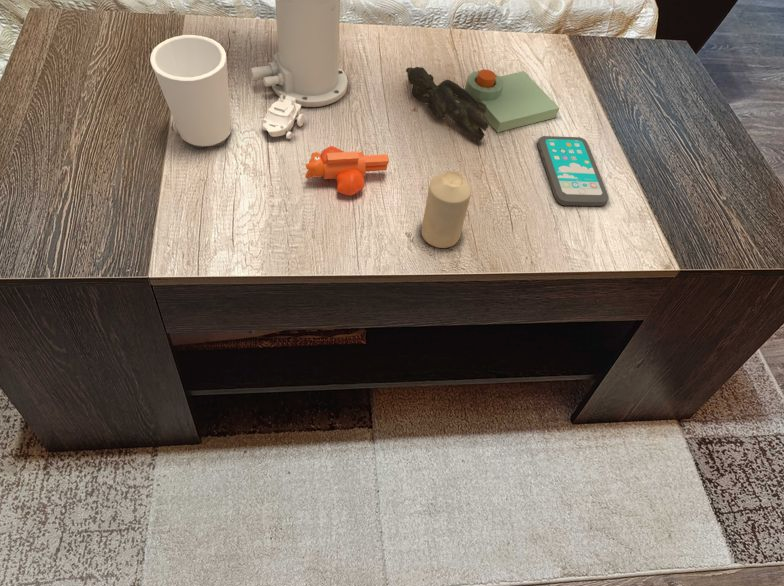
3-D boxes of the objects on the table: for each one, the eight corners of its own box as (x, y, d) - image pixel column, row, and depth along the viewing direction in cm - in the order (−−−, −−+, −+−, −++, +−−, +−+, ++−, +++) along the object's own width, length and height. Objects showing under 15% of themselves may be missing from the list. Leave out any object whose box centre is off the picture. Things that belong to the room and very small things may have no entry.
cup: (198, 166, 89) (178, 90, 79) (159, 130, 93) (134, 52, 82) (253, 136, 94) (241, 60, 83) (213, 103, 97) (197, 25, 86)
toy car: (308, 118, 98) (307, 95, 94) (285, 147, 93) (284, 124, 90) (280, 109, 98) (278, 86, 95) (256, 138, 94) (254, 114, 90)
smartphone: (558, 200, 91) (536, 134, 100) (556, 205, 92) (534, 140, 100) (612, 201, 93) (586, 136, 101) (609, 206, 94) (584, 141, 102)
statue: (463, 147, 95) (385, 80, 103) (482, 151, 100) (406, 86, 107) (485, 110, 92) (402, 43, 100) (504, 115, 96) (423, 51, 104)
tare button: (482, 90, 102) (484, 81, 100) (472, 79, 103) (474, 71, 102) (497, 86, 103) (499, 78, 101) (487, 76, 104) (489, 67, 103)
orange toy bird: (386, 136, 88) (302, 140, 86) (395, 182, 87) (310, 189, 84) (381, 155, 93) (301, 160, 91) (390, 200, 91) (309, 206, 89)
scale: (492, 133, 100) (497, 115, 98) (457, 93, 106) (461, 74, 103) (556, 117, 105) (562, 99, 102) (519, 79, 110) (525, 60, 107)
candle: (456, 252, 85) (471, 197, 77) (417, 243, 85) (427, 188, 77) (462, 224, 88) (476, 169, 80) (424, 216, 88) (435, 160, 80)
